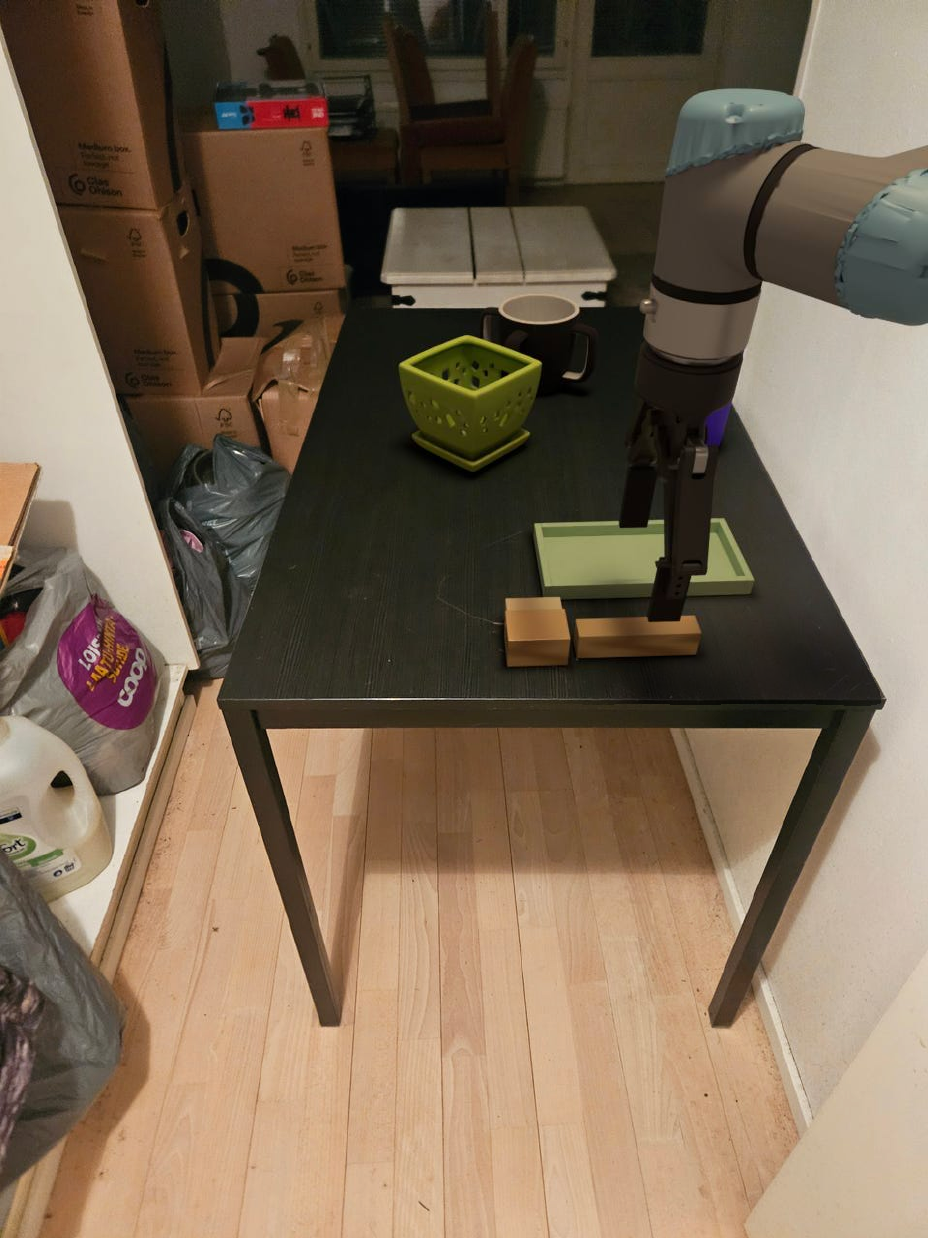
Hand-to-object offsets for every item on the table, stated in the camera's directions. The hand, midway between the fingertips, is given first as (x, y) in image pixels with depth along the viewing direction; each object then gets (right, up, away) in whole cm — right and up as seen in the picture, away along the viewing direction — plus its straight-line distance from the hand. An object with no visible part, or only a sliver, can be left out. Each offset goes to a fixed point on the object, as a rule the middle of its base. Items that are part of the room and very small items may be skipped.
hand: (646, 569), depth 71 cm
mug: (-6, +33, +51) cm, 61 cm away
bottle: (+15, +20, +37) cm, 45 cm away
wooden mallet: (-3, -7, +7) cm, 11 cm away
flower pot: (-16, +19, +36) cm, 44 cm away
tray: (+3, +2, +17) cm, 17 cm away
